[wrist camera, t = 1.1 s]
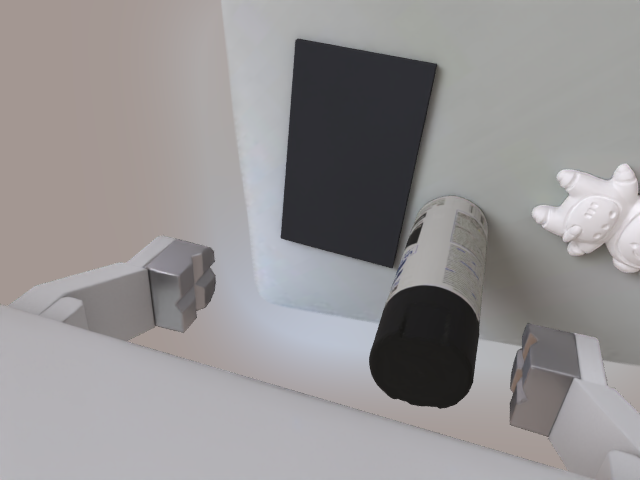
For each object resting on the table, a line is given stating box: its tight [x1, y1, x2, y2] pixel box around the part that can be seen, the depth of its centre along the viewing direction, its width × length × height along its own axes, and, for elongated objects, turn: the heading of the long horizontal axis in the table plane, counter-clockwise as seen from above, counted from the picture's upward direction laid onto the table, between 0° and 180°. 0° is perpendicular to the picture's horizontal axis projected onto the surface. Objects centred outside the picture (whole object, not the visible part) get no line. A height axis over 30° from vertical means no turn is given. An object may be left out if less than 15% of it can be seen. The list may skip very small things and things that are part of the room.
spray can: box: [369, 196, 488, 409], centre depth 41 cm, size 7×7×20 cm
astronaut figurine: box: [532, 163, 640, 273], centre depth 43 cm, size 9×12×3 cm
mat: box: [281, 39, 437, 268], centre depth 49 cm, size 20×12×1 cm, turn 174°
